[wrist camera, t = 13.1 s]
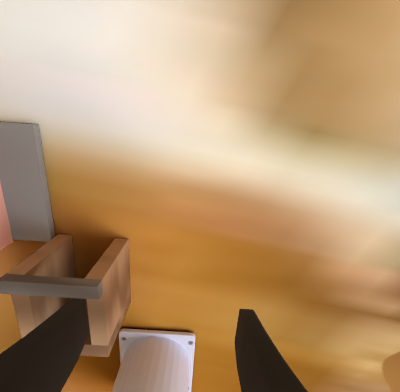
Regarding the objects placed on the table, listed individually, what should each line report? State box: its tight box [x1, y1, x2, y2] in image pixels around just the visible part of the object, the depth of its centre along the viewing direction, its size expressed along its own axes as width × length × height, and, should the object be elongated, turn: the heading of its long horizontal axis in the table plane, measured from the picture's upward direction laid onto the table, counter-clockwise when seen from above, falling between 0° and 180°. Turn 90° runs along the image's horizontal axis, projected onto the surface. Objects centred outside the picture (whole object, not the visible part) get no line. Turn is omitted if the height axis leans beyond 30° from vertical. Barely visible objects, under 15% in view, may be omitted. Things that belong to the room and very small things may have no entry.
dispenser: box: [0, 234, 131, 357], centre depth 18 cm, size 7×6×6 cm
